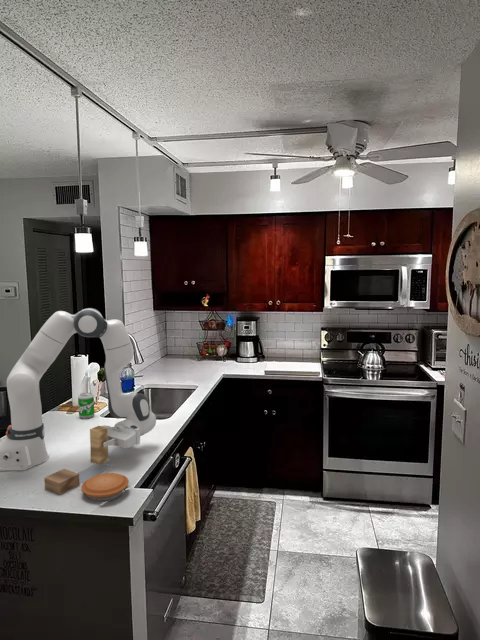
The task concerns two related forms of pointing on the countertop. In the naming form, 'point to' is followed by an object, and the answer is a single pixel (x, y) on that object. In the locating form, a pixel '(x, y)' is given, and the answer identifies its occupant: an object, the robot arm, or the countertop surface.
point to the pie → (105, 486)
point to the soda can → (86, 405)
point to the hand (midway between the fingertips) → (97, 443)
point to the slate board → (93, 471)
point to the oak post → (98, 445)
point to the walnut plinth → (61, 481)
